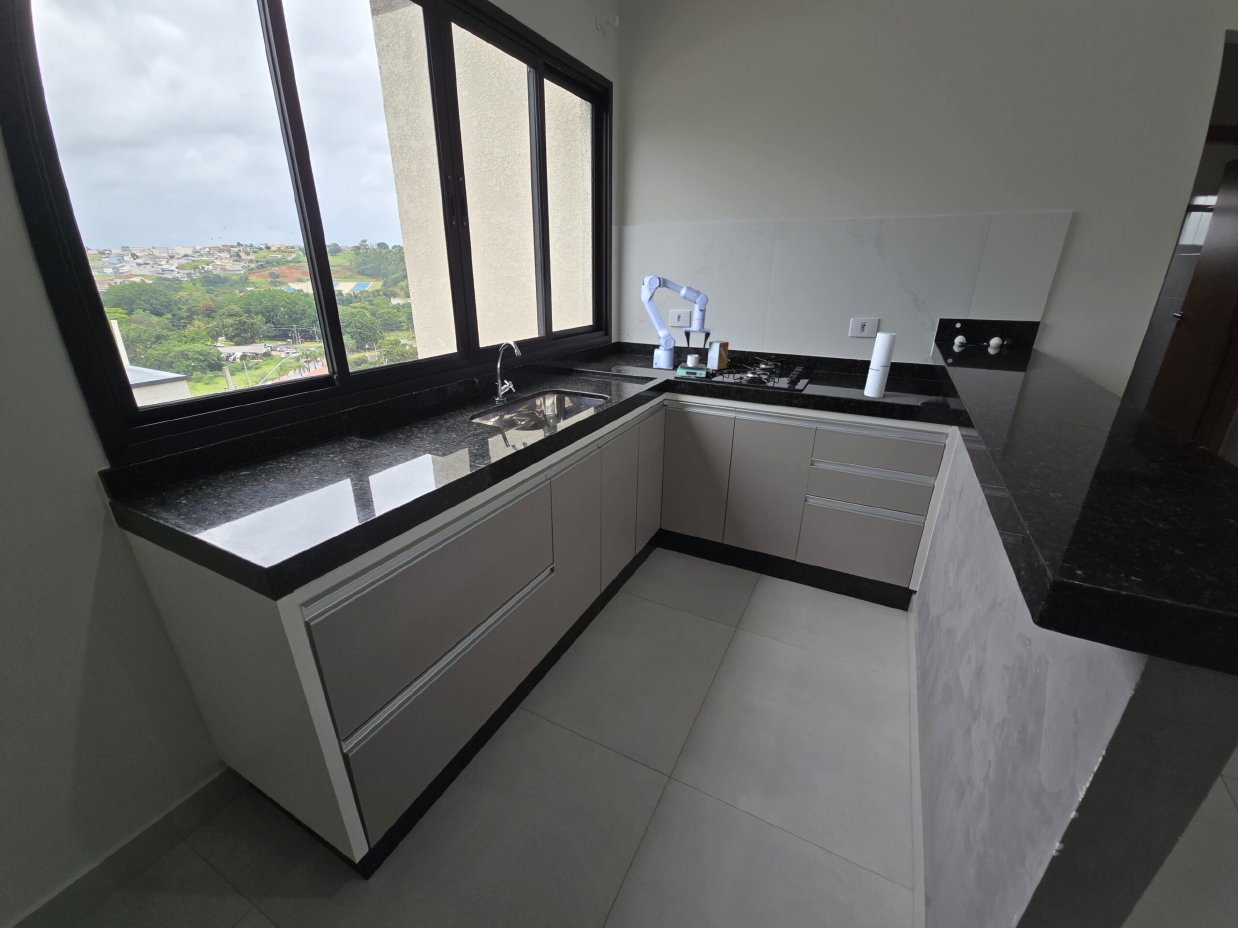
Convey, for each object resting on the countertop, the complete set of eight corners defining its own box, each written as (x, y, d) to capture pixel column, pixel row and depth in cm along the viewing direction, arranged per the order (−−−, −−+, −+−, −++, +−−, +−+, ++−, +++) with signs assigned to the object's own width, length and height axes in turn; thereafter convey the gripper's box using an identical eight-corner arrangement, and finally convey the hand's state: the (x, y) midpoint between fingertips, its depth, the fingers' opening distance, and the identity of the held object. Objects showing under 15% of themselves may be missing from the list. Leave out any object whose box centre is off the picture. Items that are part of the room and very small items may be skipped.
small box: (717, 370, 249) (719, 343, 244) (706, 368, 253) (708, 341, 249) (726, 368, 254) (729, 341, 250) (716, 366, 258) (718, 340, 254)
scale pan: (679, 368, 233) (679, 366, 233) (681, 364, 241) (681, 362, 241) (703, 369, 231) (703, 367, 231) (704, 366, 239) (704, 364, 239)
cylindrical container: (884, 398, 205) (899, 335, 196) (866, 396, 206) (880, 333, 197) (880, 394, 211) (894, 333, 202) (862, 392, 213) (875, 331, 204)
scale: (676, 375, 233) (677, 369, 232) (679, 370, 244) (679, 365, 243) (705, 377, 231) (705, 371, 230) (706, 372, 241) (706, 367, 240)
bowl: (686, 365, 234) (687, 356, 232) (687, 363, 239) (688, 354, 237) (697, 366, 233) (698, 356, 231) (698, 364, 238) (699, 355, 236)
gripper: (683, 319, 241) (680, 347, 246) (713, 320, 238) (710, 350, 243) (684, 317, 248) (682, 346, 252) (714, 319, 245) (711, 348, 250)
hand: (696, 347), depth 248 cm, fingers open, 7 cm apart
